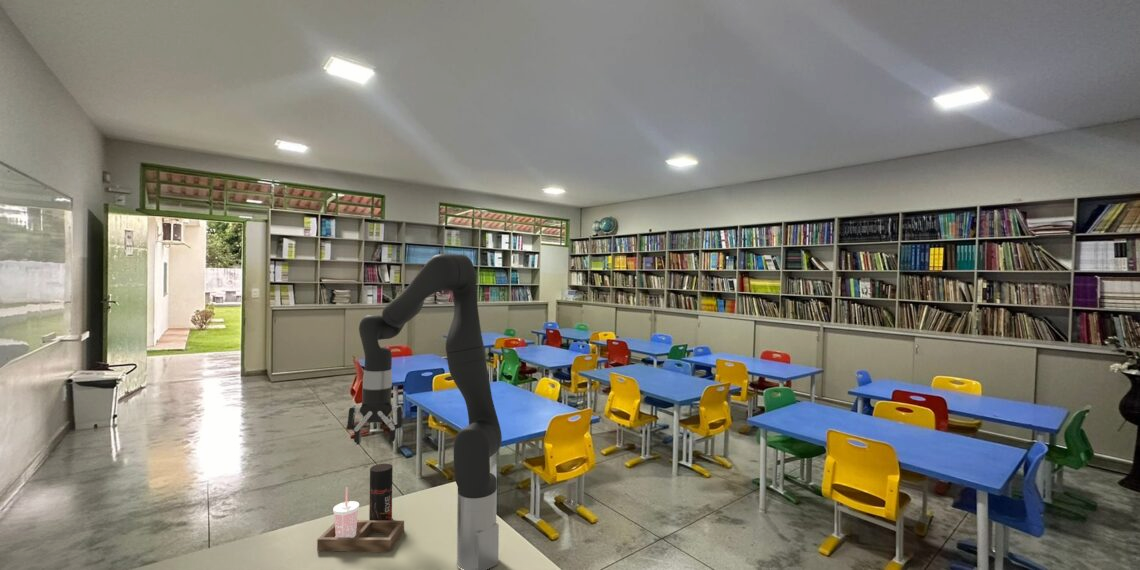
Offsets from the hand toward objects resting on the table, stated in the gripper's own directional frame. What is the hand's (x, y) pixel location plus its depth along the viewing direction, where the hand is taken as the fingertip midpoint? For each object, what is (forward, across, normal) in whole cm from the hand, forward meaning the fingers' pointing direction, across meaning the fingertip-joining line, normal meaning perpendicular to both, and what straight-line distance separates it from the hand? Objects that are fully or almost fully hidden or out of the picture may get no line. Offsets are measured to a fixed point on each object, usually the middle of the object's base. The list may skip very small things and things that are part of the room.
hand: (375, 443), depth 126 cm
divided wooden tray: (+22, 0, -9) cm, 24 cm away
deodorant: (+23, +2, +1) cm, 23 cm away
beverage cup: (+23, -5, -8) cm, 25 cm away
